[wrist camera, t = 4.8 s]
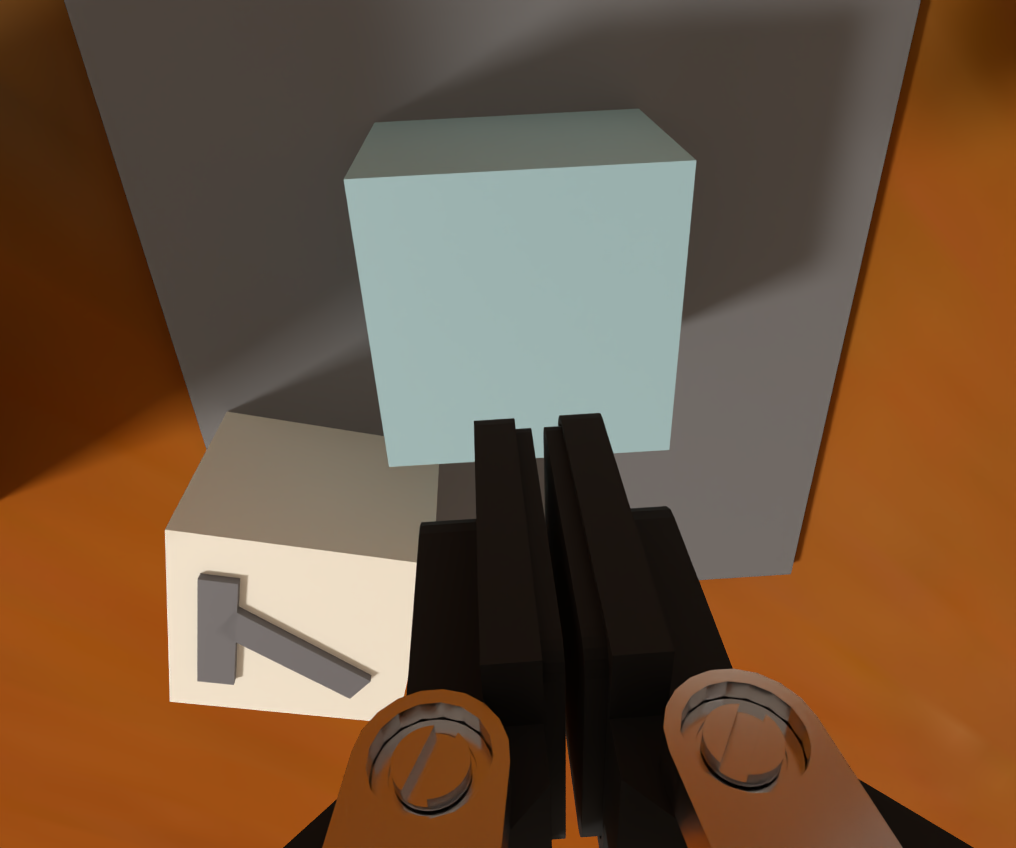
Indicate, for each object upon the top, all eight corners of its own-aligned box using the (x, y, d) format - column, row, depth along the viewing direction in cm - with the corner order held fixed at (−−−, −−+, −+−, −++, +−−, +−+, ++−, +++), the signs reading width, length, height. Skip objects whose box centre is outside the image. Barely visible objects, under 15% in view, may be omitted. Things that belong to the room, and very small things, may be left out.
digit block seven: (440, 444, 21) (433, 570, 17) (409, 591, 25) (396, 729, 20) (226, 411, 21) (161, 535, 16) (223, 568, 24) (167, 708, 19)
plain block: (638, 108, 17) (696, 159, 13) (626, 345, 20) (669, 450, 16) (374, 122, 17) (343, 178, 12) (405, 358, 20) (388, 467, 16)
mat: (1019, -491, 12) (1034, -502, 12) (786, 565, 25) (790, 574, 25) (-67, -449, 12) (-82, -460, 12) (259, 599, 25) (257, 608, 25)
